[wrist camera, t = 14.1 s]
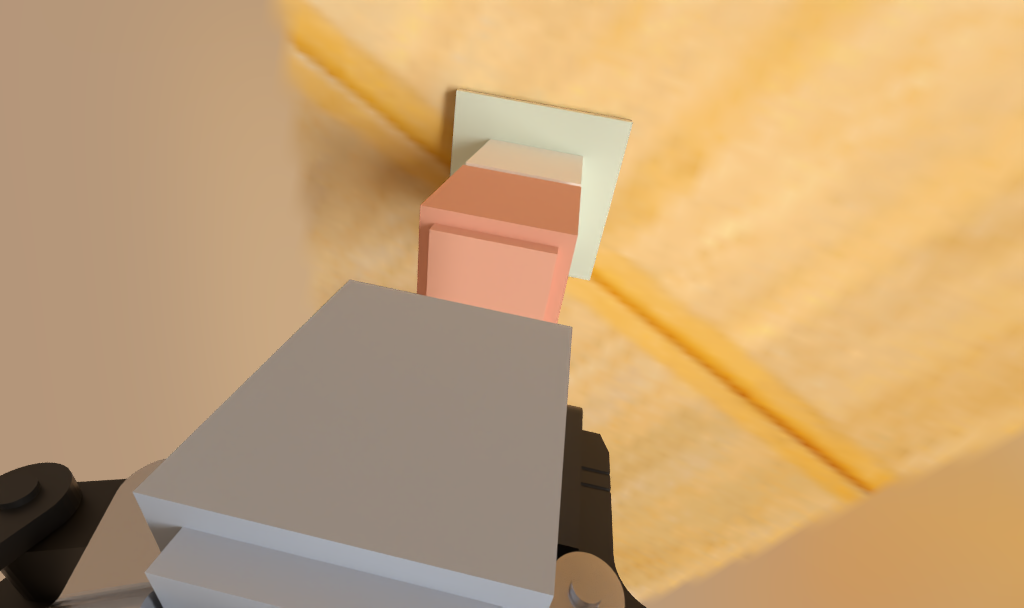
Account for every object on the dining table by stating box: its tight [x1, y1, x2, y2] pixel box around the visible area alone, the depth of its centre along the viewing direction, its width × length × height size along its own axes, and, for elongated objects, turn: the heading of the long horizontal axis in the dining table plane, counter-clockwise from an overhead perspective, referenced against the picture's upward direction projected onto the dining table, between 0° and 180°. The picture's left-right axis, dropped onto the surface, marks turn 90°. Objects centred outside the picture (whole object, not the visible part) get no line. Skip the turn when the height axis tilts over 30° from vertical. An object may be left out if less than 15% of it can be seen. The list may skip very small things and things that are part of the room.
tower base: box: [450, 89, 633, 280], centre depth 25 cm, size 10×10×7 cm
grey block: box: [133, 280, 572, 608], centre depth 9 cm, size 6×6×7 cm
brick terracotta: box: [417, 165, 581, 324], centre depth 19 cm, size 6×6×7 cm
